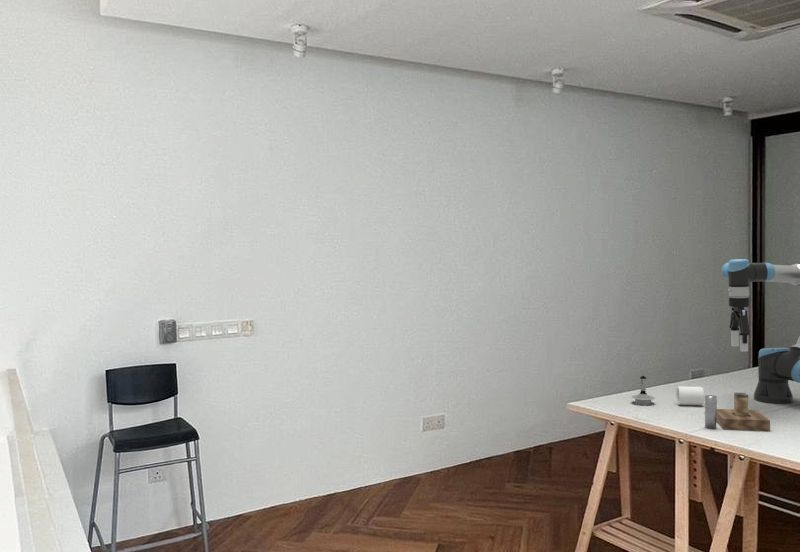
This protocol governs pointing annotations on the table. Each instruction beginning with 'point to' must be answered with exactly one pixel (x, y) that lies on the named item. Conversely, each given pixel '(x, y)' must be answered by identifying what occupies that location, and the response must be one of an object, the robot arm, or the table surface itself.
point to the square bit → (740, 404)
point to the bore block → (742, 420)
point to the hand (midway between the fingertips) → (739, 348)
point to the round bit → (710, 411)
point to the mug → (690, 395)
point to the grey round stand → (643, 396)
